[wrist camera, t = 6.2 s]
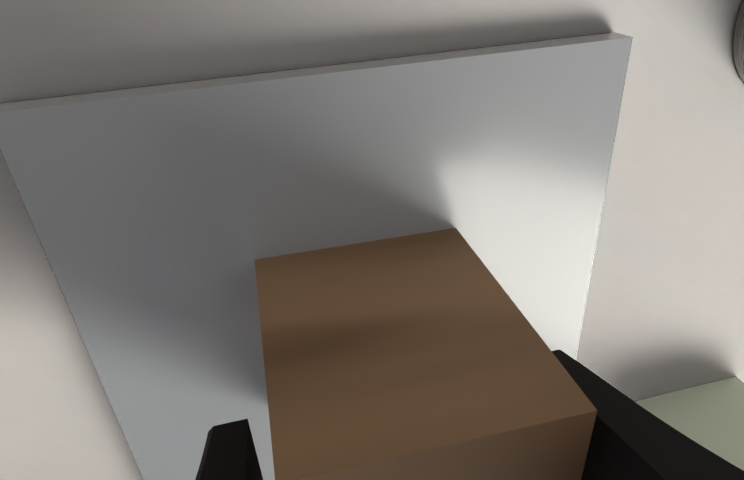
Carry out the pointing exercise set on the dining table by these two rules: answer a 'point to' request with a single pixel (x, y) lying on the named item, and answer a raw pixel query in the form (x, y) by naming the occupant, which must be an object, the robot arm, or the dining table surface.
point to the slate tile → (304, 207)
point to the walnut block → (411, 369)
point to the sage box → (706, 416)
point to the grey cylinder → (739, 43)
